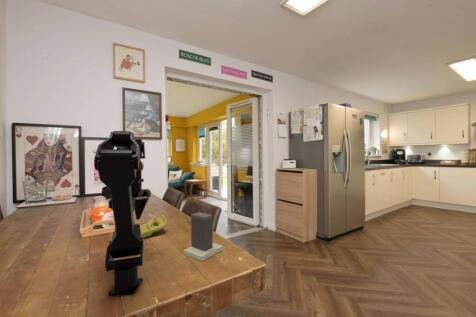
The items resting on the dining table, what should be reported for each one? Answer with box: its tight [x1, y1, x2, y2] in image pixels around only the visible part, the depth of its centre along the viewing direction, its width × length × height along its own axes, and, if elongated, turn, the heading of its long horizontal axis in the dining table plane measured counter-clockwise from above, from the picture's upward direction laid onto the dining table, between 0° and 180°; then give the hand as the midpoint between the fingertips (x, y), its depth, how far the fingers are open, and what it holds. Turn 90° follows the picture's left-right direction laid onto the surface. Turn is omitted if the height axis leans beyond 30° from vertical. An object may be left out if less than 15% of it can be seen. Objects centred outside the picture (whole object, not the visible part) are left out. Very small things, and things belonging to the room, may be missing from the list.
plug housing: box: [190, 211, 214, 251], centre depth 80 cm, size 4×7×12 cm, turn 53°
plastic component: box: [139, 214, 167, 239], centre depth 97 cm, size 20×7×10 cm
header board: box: [183, 242, 224, 262], centre depth 79 cm, size 11×9×4 cm
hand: (132, 223), depth 71 cm, fingers open, 9 cm apart
